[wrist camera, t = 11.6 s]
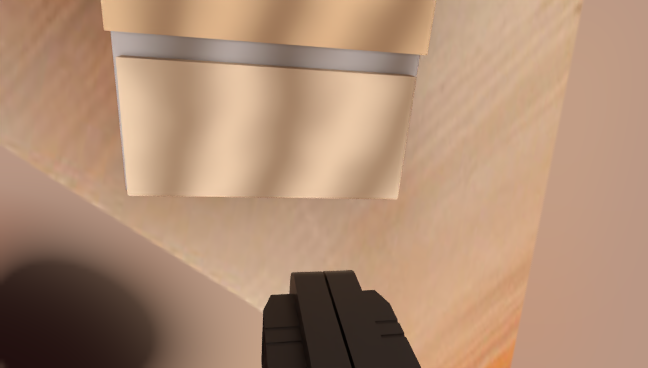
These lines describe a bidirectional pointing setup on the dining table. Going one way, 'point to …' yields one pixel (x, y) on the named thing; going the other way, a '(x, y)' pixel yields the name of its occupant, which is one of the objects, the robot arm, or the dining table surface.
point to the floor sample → (274, 33)
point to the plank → (261, 129)
